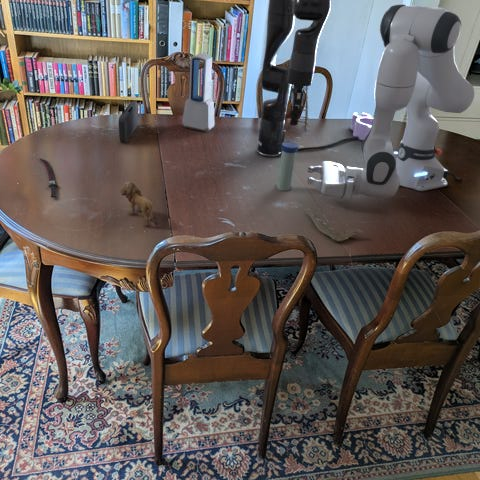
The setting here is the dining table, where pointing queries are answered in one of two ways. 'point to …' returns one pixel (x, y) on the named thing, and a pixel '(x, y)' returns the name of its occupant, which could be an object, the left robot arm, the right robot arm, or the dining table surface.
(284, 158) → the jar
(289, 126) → the miniature windmill
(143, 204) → the lion figurine
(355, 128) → the lavender notched block
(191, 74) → the electronic device
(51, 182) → the sword
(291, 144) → the lid
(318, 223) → the jawbone
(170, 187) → the dining table surface
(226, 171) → the dining table surface
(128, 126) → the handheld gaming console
